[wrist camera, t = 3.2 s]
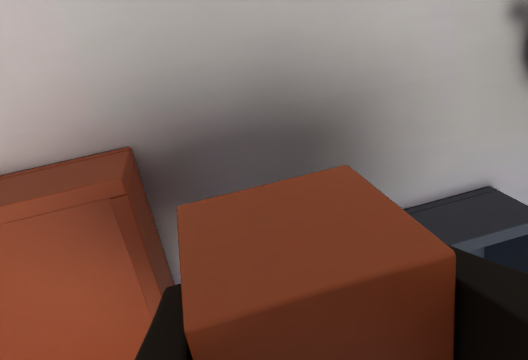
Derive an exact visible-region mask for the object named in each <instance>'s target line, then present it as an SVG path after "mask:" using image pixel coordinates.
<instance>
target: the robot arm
mask: <svg viewBox="0 0 528 360" xmlns="http://www.w3.org/2000/svg"><path fill="white" fill-rule="evenodd" d="M446 245H447V244H446ZM447 246H449V247H450V248H451V249H452V250H454V252H455V255H456V278H455V328H454V360H528V273H525V272H522V271H519V270H516V269H513V268H510V267H507V266H504V265H501V264H498V263H495V262H493V261H490V260H487V259H484V258H481V257H479V256H476V255H473V254H471V253H468V252H465V251H463V250H460V249H458V248H455V247H453V246H450V245H447ZM134 360H193V358H192V355H191V352H190V348H189V345H188V342H187V339H186V336H185V332H184V322H183V306H182V290H181V284H177V285H174V286H170V287H167V288H166V289H165V291H164V292H163V294H162V297H161V300H160V302H159V305H158V308H157V310H156V313H155V315H154V318H153V320H152V322H151V325H150V327H149V329H148V332H147V334H146V336H145V338H144V340H143V342H142V344H141V347H140V349H139V351H138V353H137V355H136V357H135V359H134Z"/></svg>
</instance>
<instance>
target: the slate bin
mask: <svg viewBox="0 0 528 360" xmlns="http://www.w3.org/2000/svg"><path fill="white" fill-rule="evenodd" d="M404 211H405V212H406V213H408V214H409V215H410V216H411V217H413V218H414V219H415V220H416V221H418V222H419V223H420V224H421V225H423V226H424V227H425V228H426V229H428V230H429V231H430V232H431V233H433V234H434V235H435V236H436V237H437V238H439V239H440V240H441V241H442V242H444V243H445V244H447V245H450V246H453V247H455V248H458V249H460V250H463V251H465V252H468V253H471V254H473V255H476V256H479V257H481V258H484V259H487V260H490V261H493V262H495V263H498V264H501V265H504V266H507V267H510V268H513V269H516V270H519V271H522V272H525V273H528V206H527V205H525V204H523V203H521V202H519V201H517V200H515V199H514V198H512V197H510V196H508V195H506V194H504V193H502V192H500V191H497V190H496V189H494V188H492V187H487V188H483V189H479V190H476V191H472V192H468V193H465V194H461V195H457V196H453V197H450V198H446V199H442V200H439V201H435V202H431V203H428V204H424V205H420V206H417V207H413V208H409V209H405V210H404Z"/></svg>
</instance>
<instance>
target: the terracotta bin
mask: <svg viewBox="0 0 528 360" xmlns="http://www.w3.org/2000/svg"><path fill="white" fill-rule="evenodd" d="M170 286H174V283H173V280H172V277H171V274H170V270H169V267H168V264H167V261H166V258H165V254H164V251H163V248H162V245H161V242H160V239H159V235H158V232H157V229H156V226H155V223H154V219H153V216H152V213H151V210H150V207H149V204H148V200H147V197H146V194H145V191H144V188H143V184H142V181H141V178H140V175H139V172H138V169H137V165H136V162H135V159H134V156H133V153H132V149H131V147H126V148H121V149H117V150H112V151H108V152H104V153H99V154H95V155H90V156H86V157H81V158H77V159H73V160H68V161H64V162H59V163H55V164H50V165H46V166H42V167H37V168H33V169H28V170H24V171H19V172H15V173H11V174H6V175H2V176H0V360H134V359H135V357H136V355H137V353H138V351H139V349H140V347H141V344H142V342H143V340H144V338H145V336H146V334H147V332H148V329H149V327H150V325H151V322H152V320H153V318H154V315H155V313H156V310H157V308H158V305H159V302H160V300H161V297H162V294H163V292H164V291H165V289H166V288H167V287H170Z"/></svg>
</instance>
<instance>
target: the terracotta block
mask: <svg viewBox="0 0 528 360" xmlns="http://www.w3.org/2000/svg"><path fill="white" fill-rule="evenodd" d="M177 225H178V241H179V257H180V274H181V290H182V306H183V322H184V332H185V336H186V339H187V342H188V345H189V348H190V352H191V355H192V358H193V360H454V328H455V278H456V255H455V252H454V250H452V249H451V248H450V247H449V246H447V245H446V244H445V243H444V242H442V241H441V240H440V239H439V238H437V237H436V236H435V235H434V234H433V233H431V232H430V231H429V230H428V229H426V228H425V227H424V226H423V225H421V224H420V223H419V222H418V221H416V220H415V219H414V218H413V217H411V216H410V215H409V214H408V213H406V212H405V211H404V210H403V209H401V208H400V207H399V206H398V205H397V204H395V203H394V202H393V201H392V200H390V199H389V198H388V197H387V196H385V195H384V194H383V193H382V192H380V191H379V190H378V189H377V188H375V187H374V186H373V185H372V184H370V183H369V182H368V181H367V180H365V179H364V178H363V177H362V176H361V175H359V174H358V173H357V172H356V171H354V170H353V169H352V168H351V167H349V166H348V165H343V166H339V167H335V168H331V169H327V170H323V171H319V172H315V173H310V174H306V175H302V176H298V177H294V178H290V179H286V180H282V181H278V182H274V183H270V184H265V185H261V186H257V187H253V188H249V189H245V190H241V191H237V192H233V193H229V194H225V195H221V196H216V197H212V198H208V199H204V200H200V201H196V202H192V203H188V204H184V205H180V206H178V207H177Z"/></svg>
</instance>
